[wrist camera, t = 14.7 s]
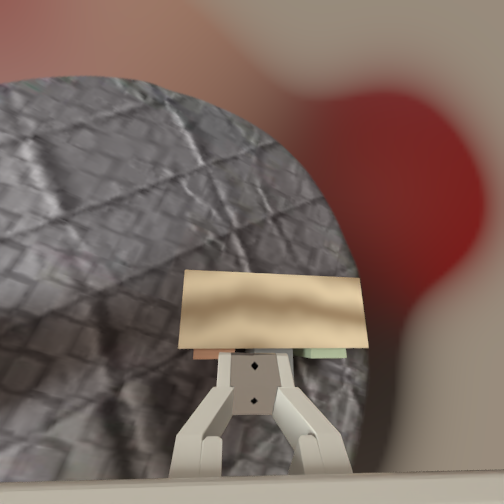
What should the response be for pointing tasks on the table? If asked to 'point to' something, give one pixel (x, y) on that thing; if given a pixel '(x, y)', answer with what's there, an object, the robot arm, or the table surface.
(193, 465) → the robot arm
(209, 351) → the terracotta key
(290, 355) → the slate key
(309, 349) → the sage key
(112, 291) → the table surface
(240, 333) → the key console
